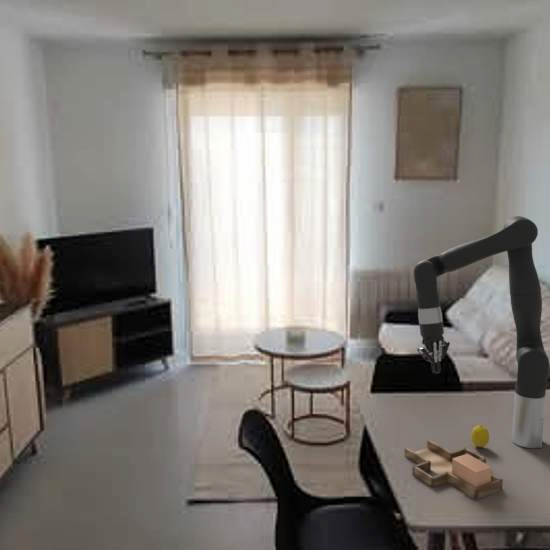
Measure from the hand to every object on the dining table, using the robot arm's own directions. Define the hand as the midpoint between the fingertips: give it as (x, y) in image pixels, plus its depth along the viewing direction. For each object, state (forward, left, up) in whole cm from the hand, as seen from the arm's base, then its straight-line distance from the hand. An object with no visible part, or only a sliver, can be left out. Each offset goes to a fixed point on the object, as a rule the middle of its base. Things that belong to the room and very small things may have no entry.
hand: (436, 372), depth 196 cm
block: (-14, +25, -24) cm, 37 cm away
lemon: (-15, 0, -24) cm, 28 cm away
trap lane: (-8, +19, -24) cm, 31 cm away
